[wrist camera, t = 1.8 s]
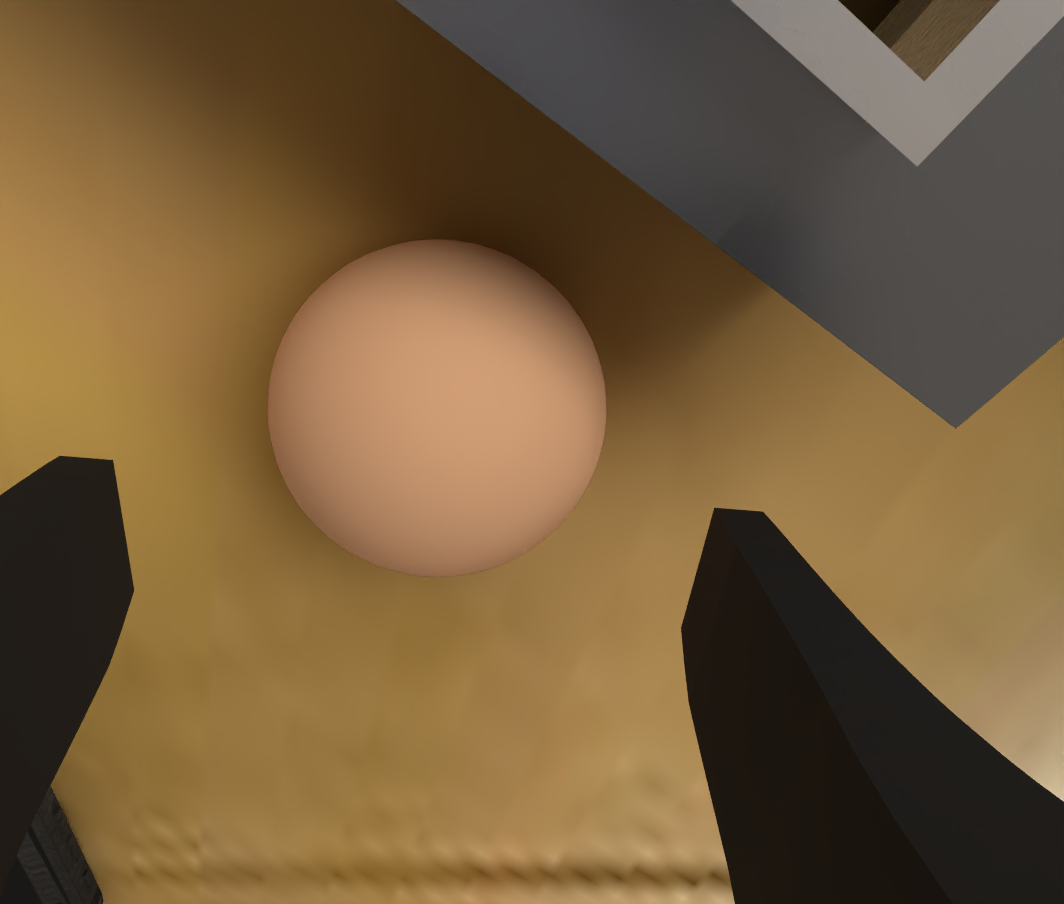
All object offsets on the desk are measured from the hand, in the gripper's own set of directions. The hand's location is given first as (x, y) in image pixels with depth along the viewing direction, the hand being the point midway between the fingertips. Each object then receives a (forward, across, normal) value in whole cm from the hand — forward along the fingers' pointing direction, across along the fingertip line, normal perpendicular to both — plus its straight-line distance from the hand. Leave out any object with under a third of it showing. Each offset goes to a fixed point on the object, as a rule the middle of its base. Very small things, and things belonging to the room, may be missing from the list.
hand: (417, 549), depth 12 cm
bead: (+3, 0, 0) cm, 3 cm away
